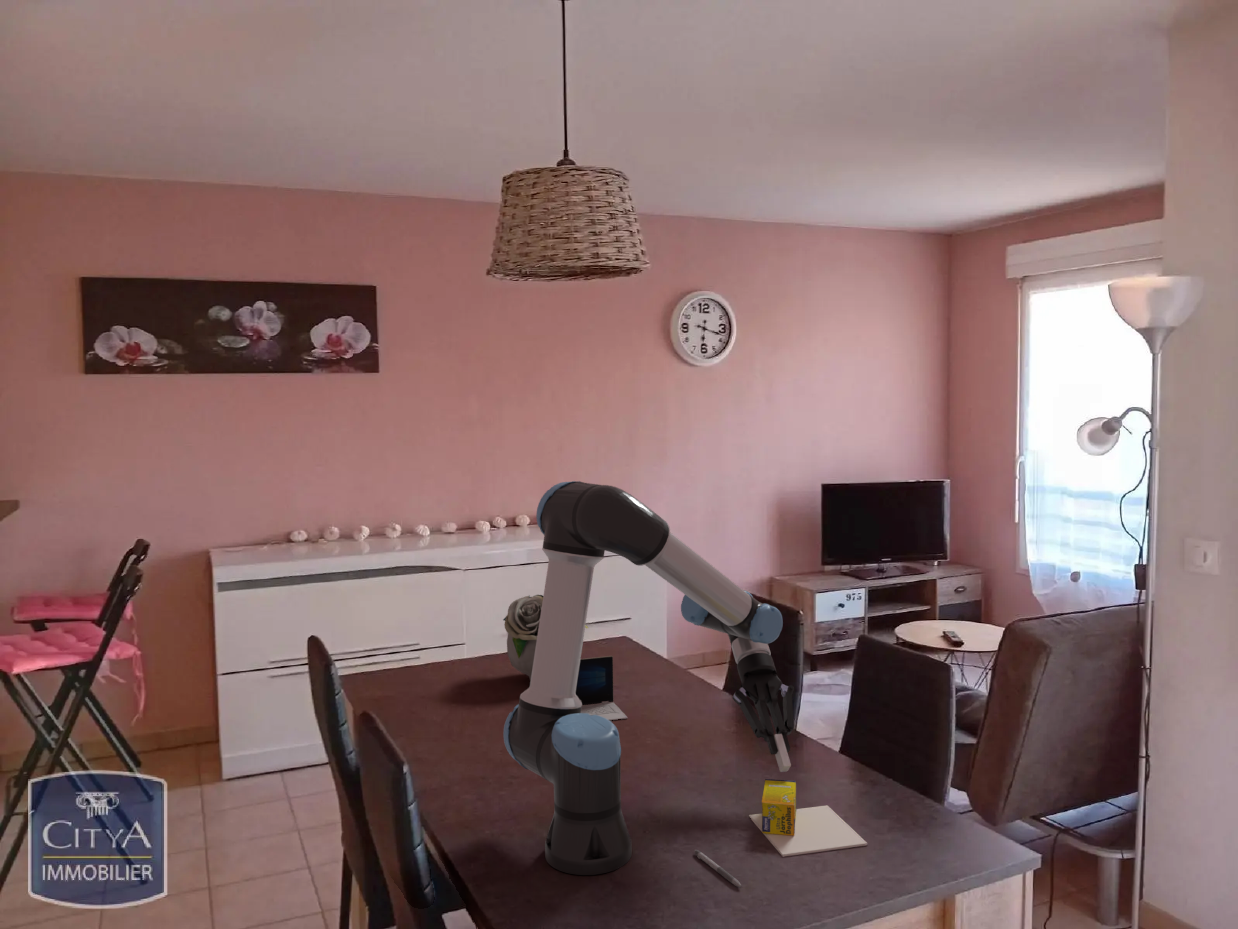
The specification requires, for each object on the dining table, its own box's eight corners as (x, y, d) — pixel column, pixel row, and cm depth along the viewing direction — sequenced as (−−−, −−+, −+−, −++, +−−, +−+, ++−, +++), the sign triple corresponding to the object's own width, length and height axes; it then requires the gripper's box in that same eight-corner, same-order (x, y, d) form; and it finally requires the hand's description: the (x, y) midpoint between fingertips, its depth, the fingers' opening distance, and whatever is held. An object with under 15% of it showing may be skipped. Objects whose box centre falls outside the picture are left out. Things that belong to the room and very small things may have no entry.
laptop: (556, 729, 231) (555, 676, 230) (545, 712, 243) (544, 662, 242) (627, 720, 236) (627, 668, 235) (613, 704, 248) (612, 655, 247)
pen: (697, 855, 167) (697, 847, 167) (743, 891, 155) (743, 883, 154) (692, 856, 166) (692, 848, 166) (738, 893, 154) (738, 884, 154)
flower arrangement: (494, 694, 257) (492, 604, 255) (508, 667, 282) (506, 585, 280) (586, 693, 256) (584, 604, 254) (592, 667, 281) (590, 585, 279)
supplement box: (797, 810, 182) (794, 836, 171) (765, 808, 183) (761, 834, 173) (796, 780, 182) (794, 804, 171) (764, 778, 183) (760, 802, 172)
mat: (867, 845, 169) (867, 843, 169) (782, 856, 165) (782, 854, 165) (827, 807, 184) (827, 805, 184) (749, 817, 180) (749, 815, 180)
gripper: (778, 666, 202) (811, 773, 187) (720, 671, 200) (748, 780, 185) (788, 648, 197) (823, 757, 182) (728, 653, 194) (758, 764, 179)
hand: (785, 768), depth 183 cm, fingers closed
